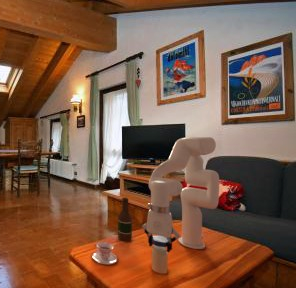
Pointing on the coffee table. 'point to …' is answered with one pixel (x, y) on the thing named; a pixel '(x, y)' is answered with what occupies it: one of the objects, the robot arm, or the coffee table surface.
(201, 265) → the coffee table surface
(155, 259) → the jar
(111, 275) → the coffee table surface
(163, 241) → the jar lid
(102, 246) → the teacup
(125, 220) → the beer bottle
